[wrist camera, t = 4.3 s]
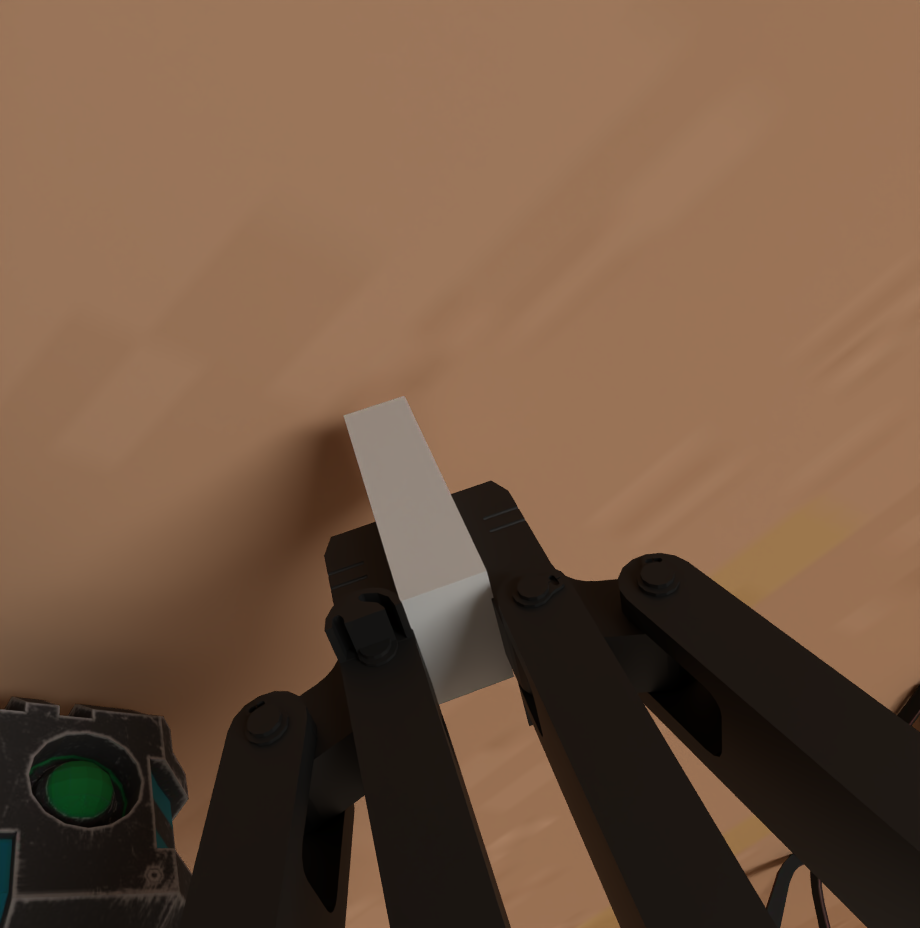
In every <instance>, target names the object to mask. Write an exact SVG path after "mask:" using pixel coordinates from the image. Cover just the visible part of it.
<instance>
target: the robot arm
mask: <svg viewBox="0 0 920 928" xmlns="http://www.w3.org/2000/svg"><path fill="white" fill-rule="evenodd" d="M344 419H345V422H346V425H347V429H348V432H349V435H350V439H351V442H352V445H353V448H354V452H355V455H356V458H357V462H358V465H359V468H360V471H361V475H362V478H363V481H364V485H365V488H366V491H367V494H368V498H369V501H370V504H371V508H372V511H373V514H374V517H375V521H376V522H374V523H371V524H368V525H365V526H362V527H359V528H356V529H353V530H350V531H347V532H344V533H342V534H339V535H336V536H333V537H331V538H330V541H329V544H328V547H327V550H326V552H325V555H324V557H325V562H326V567H327V572H328V576H329V583H330V588H331V593H332V598H333V603H334V606H333V607H332V609H331V610H330V612H329V614H328V616H327V618H326V621H325V632H326V634H327V637H328V639H329V641H330V643H331V645H332V648H333V650H334V652H335V654H336V656H337V659H338V661H337V662H336V664H335V666H334V668H333V669H332V670H331V671H330V673H329V674H328V675H327V676H326V677H325V678H324V679H323V680H322V681H320V682H319V683H318V684H317V685H315V686H314V687H312V688H311V689H309V690H308V691H307V692H305V693H304V694H302V695H301V696H297V695H295V694H293V693H291V692H288V691H274V692H271V693H268V694H265V695H262V696H259V697H257V698H256V699H254V700H253V701H251V702H250V703H248V704H247V705H245V706H244V707H243V708H242V709H241V711H240V712H239V713H238V714H237V715H236V716H235V717H234V719H233V721H232V723H231V726H230V728H229V730H228V733H227V737H226V741H225V745H224V749H223V753H222V757H221V761H220V765H219V769H218V773H217V777H216V781H215V785H214V789H213V793H212V797H211V801H210V805H209V809H208V813H207V817H206V821H205V825H204V829H203V833H202V837H201V841H200V845H199V849H198V853H197V857H196V861H195V865H194V869H193V873H192V877H191V882H190V886H189V890H188V894H187V898H186V902H185V906H184V910H183V914H182V918H181V922H180V926H179V928H345V920H346V908H347V895H348V883H349V871H350V858H351V846H352V834H353V821H354V809H355V808H354V803H355V802H356V801H358V800H359V799H360V798H361V797H363V796H364V795H365V798H366V804H367V809H368V814H369V819H370V825H371V830H372V835H373V840H374V846H375V851H376V856H377V861H378V866H379V872H380V877H381V882H382V887H383V893H384V898H385V903H386V908H387V914H388V919H389V924H390V928H511V927H510V924H509V920H508V917H507V914H506V911H505V908H504V905H503V902H502V899H501V895H500V892H499V889H498V886H497V883H496V880H495V877H494V874H493V870H492V867H491V864H490V861H489V858H488V855H487V852H486V848H485V845H484V842H483V839H482V836H481V833H480V830H479V827H478V823H477V820H476V817H475V814H474V811H473V808H472V805H471V802H470V798H469V795H468V792H467V789H466V786H465V783H464V780H463V777H462V773H461V770H460V767H459V764H458V761H457V758H456V755H455V752H454V748H453V745H452V742H451V739H450V736H449V733H448V730H447V727H446V724H445V721H444V718H443V716H442V713H441V710H440V707H439V704H442V703H444V702H447V701H450V700H453V699H455V698H458V697H461V696H463V695H466V694H469V693H471V692H474V691H477V690H479V689H482V688H485V687H487V686H490V685H493V684H495V683H498V682H501V681H503V680H506V679H509V678H511V677H514V675H513V672H514V674H515V676H516V678H517V681H518V684H519V688H520V692H521V696H522V700H523V704H524V708H525V711H526V715H527V719H528V723H529V726H531V725H533V726H534V728H535V730H536V732H537V735H538V737H539V739H540V742H541V744H542V746H543V749H544V751H545V753H546V756H547V758H548V760H549V763H550V765H551V767H552V770H553V772H554V774H555V777H556V779H557V781H558V784H559V786H560V788H561V791H562V793H563V795H564V797H565V800H566V802H567V804H568V807H569V809H570V811H571V814H572V816H573V818H574V821H575V823H576V825H577V828H578V830H579V832H580V835H581V837H582V839H583V842H584V844H585V846H586V849H587V851H588V853H589V856H590V858H591V860H592V862H593V865H594V867H595V869H596V872H597V874H598V876H599V879H600V881H601V883H602V886H603V888H604V890H605V893H606V895H607V897H608V900H609V902H610V904H611V907H612V909H613V911H614V914H615V916H616V918H617V921H618V923H619V925H620V927H621V928H777V926H776V924H775V923H774V921H773V919H772V918H771V916H770V914H769V913H768V911H767V909H766V908H765V906H764V904H763V903H762V901H761V899H760V898H759V896H758V894H757V893H756V891H755V889H754V888H753V886H752V884H751V883H750V881H749V879H748V878H747V876H746V874H745V873H744V871H743V869H742V868H741V866H740V864H739V863H738V861H737V859H736V858H735V856H734V854H733V853H732V851H731V849H730V848H729V846H728V844H727V843H726V841H725V839H724V837H723V836H722V834H721V832H720V831H719V829H718V827H717V826H716V824H715V822H714V821H713V819H712V817H711V816H710V814H709V812H708V811H707V809H706V807H705V806H704V804H703V802H702V801H701V799H700V797H699V796H698V794H697V792H696V791H695V789H694V787H693V786H692V784H691V782H690V781H689V779H688V777H687V776H686V774H685V772H684V771H683V769H682V767H681V766H680V764H679V762H678V761H677V759H676V757H675V756H674V754H673V752H672V751H671V749H670V747H669V745H668V744H667V742H666V740H665V739H664V737H663V735H662V734H661V732H660V730H659V729H658V727H657V725H656V724H655V722H654V720H653V719H652V717H651V715H650V714H649V712H648V710H647V709H646V707H645V705H646V706H647V707H648V708H649V709H650V710H651V711H652V712H653V713H654V714H655V715H656V716H657V717H658V718H659V719H660V720H661V721H662V722H663V723H664V724H665V725H666V726H667V727H668V728H669V729H670V730H671V731H672V732H673V733H674V734H675V735H676V736H677V737H678V738H679V739H680V740H681V741H682V742H683V743H684V744H685V745H686V746H687V747H688V748H689V749H690V750H691V751H692V753H693V754H694V755H695V756H696V757H697V758H698V759H699V760H700V761H701V762H702V763H703V764H704V765H705V766H706V767H707V768H708V769H709V770H710V771H711V772H712V773H713V774H714V775H715V776H716V777H717V778H718V779H719V780H720V781H721V782H722V783H723V784H724V785H725V786H726V787H727V788H728V789H729V790H730V791H731V792H732V793H733V794H734V795H735V796H736V797H737V798H738V799H739V800H740V801H741V802H742V803H743V804H744V805H745V806H746V807H747V808H748V809H749V810H750V811H751V812H752V813H753V814H754V815H755V816H756V817H757V818H758V819H759V820H760V821H761V822H762V823H763V824H764V825H765V826H766V827H767V828H768V829H769V830H770V831H771V832H772V833H773V834H774V835H775V836H776V837H777V838H778V839H779V840H780V841H781V842H782V843H783V844H784V845H785V846H786V847H787V848H788V849H789V850H790V851H791V852H792V853H793V854H794V855H795V856H796V857H797V858H798V859H799V860H800V861H801V862H802V863H803V864H804V865H805V866H806V867H807V868H808V869H809V870H810V871H811V872H812V873H813V874H814V875H815V876H816V877H817V878H818V879H819V880H820V881H821V882H822V883H823V884H824V885H825V886H826V887H827V888H828V889H829V890H830V891H831V892H832V893H833V894H834V895H835V896H836V897H837V898H838V899H839V900H840V901H841V902H842V903H843V904H844V905H845V906H846V907H847V908H848V909H849V910H850V911H851V912H852V913H853V914H854V915H855V916H856V917H857V918H858V919H859V920H860V921H861V922H862V923H863V924H864V925H865V926H866V927H867V928H920V732H919V731H917V730H916V729H915V728H913V727H912V726H911V725H909V724H908V723H906V722H905V721H904V720H902V719H901V718H900V717H898V716H897V715H896V714H894V713H893V712H892V711H890V710H889V709H887V708H886V707H885V706H883V705H882V704H881V703H879V702H878V701H877V700H875V699H874V698H872V697H871V696H870V695H868V694H867V693H866V692H864V691H863V690H862V689H860V688H859V687H858V686H856V685H855V684H853V683H852V682H851V681H849V680H848V679H847V678H845V677H844V676H843V675H841V674H840V673H838V672H837V671H836V670H834V669H833V668H832V667H830V666H829V665H828V664H826V663H825V662H823V661H822V660H821V659H819V658H818V657H817V656H815V655H814V654H813V653H811V652H810V651H809V650H807V649H806V648H804V647H803V646H802V645H800V644H799V643H798V642H796V641H795V640H794V639H792V638H791V637H789V636H788V635H787V634H785V633H784V632H783V631H781V630H780V629H779V628H777V627H776V626H774V625H773V624H772V623H770V622H769V621H768V620H766V619H765V618H764V617H762V616H761V615H760V614H758V613H757V612H755V611H754V610H753V609H751V608H750V607H749V606H747V605H746V604H745V603H743V602H742V601H740V600H739V599H738V598H736V597H735V596H734V595H732V594H731V593H730V592H728V591H727V590H725V589H724V588H723V587H721V586H720V585H719V584H717V583H716V582H715V581H713V580H712V579H711V578H709V577H708V576H706V575H705V574H704V573H702V572H701V571H700V570H698V569H697V568H696V567H694V566H693V565H691V564H690V563H689V562H687V561H685V560H683V559H681V558H679V557H677V556H675V555H669V554H663V553H656V554H645V555H643V556H640V557H638V558H635V559H633V560H631V561H630V562H629V563H628V564H627V565H626V566H624V567H623V568H622V571H621V573H620V575H619V577H618V579H615V580H604V581H581V580H575V579H572V578H570V577H567V576H565V575H564V574H563V573H562V572H561V571H559V570H556V569H555V568H554V566H553V565H552V564H551V563H550V561H549V559H548V557H547V556H546V554H545V552H544V551H543V549H542V547H541V546H540V544H539V542H538V540H537V539H536V537H535V535H534V534H533V532H532V530H531V529H530V527H529V525H528V523H527V522H526V521H525V519H524V517H523V515H522V513H521V512H520V510H519V509H518V507H517V505H516V503H515V501H514V500H513V498H512V496H511V495H510V493H509V491H508V490H506V489H505V488H503V487H501V486H499V485H498V484H496V483H494V482H493V481H488V482H486V483H483V484H480V485H477V486H474V487H471V488H468V489H465V490H462V491H459V492H456V493H453V494H450V492H449V490H448V488H447V485H446V483H445V481H444V479H443V477H442V475H441V473H440V470H439V468H438V466H437V464H436V462H435V460H434V458H433V456H432V453H431V451H430V449H429V447H428V445H427V443H426V441H425V439H424V436H423V434H422V432H421V430H420V428H419V426H418V424H417V421H416V419H415V417H414V415H413V413H412V411H411V409H410V407H409V404H408V402H407V400H406V398H405V396H402V397H399V398H396V399H393V400H390V401H387V402H384V403H381V404H377V405H374V406H371V407H368V408H365V409H362V410H359V411H356V412H353V413H350V414H347V415H344ZM512 669H513V671H512ZM643 703H644V704H645V705H644V704H643Z"/></svg>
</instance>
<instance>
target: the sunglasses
mask: <svg viewBox="0 0 920 928" xmlns="http://www.w3.org/2000/svg"><path fill="white" fill-rule="evenodd" d="M919 715H920V686H919V687H918V688H917V690H916V691H915V692H914V694H913V695H912V696H911V698H910V699H909V701H908V702H907V703H906V705H905V706H904V707H903V709H902V710H901V711H900V713H899V714H898V715H897V716H898V717H900V718H901V719H902V720H904V721H905V722H906V723H908V724H909V725H911V726H912V725H913V723H914V722H915V720H916V719H917V718H918V716H919ZM802 865H804V864H803V863H802V862H801V861H800V860H799V859H798V858H797V857H796V856H795V855H794V854H792V855H791V856H790V857H789V858H788V859H787V860H786V861H785V862H784V863H783V864H782V866H781V868H780V869H779V871H778V872H777V875H776V878H775V881H774V885H773V888H772V891H771V894H770V897H769V900H768V903H767V906H766V909H767V911H768V913H769V914H770V916H771V918H772V919H773V921H774V923H775V924H776V926H777V928H780V926H781V921H782V916H783V912H784V907H785V902H786V897H787V892H788V888H789V883H790V880H791V878H792V876H793V873H794V872H795V870H796V869H797V868H798V867H800V866H802ZM810 878H811V888H812V895H813V900H814V905H815V910H816V915H817V919H818V924H819V928H830V924H829V920H828V916H827V912H826V907H825V903H824V897H823V891H822V882H821V881H820V880H819V879H818V878H817V877H816V876H815V875H814V874H813V873H812V872H811V871H810Z"/></svg>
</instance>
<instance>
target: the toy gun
mask: <svg viewBox="0 0 920 928" xmlns="http://www.w3.org/2000/svg"><path fill="white" fill-rule="evenodd" d="M188 799H189V798H188V790H187V782H186V775H185V772H184V771H183V769H182V767H181V765H180V764H179V762H178V760H177V758H176V757H175V755H174V753H173V749H172V740H171V731H170V728H169V726H168V724H167V722H166V721H165V719H164V717H163V716H156V715H148V714H143V713H140V712H136V711H133V710H126V709H117V708H109V707H100V706H91V705H82V704H75V705H74V707H73V708H72V710H71V712H70V713H69V715H68V716H62V715H60V706H59V705H56V704H53V703H50V702H47V701H45V700H37V699H28V698H19V697H11V699H10V701H9V702H8V704H7V706H6V708H5V709H4V710H3V709H0V928H179V926H180V922H181V918H182V914H183V910H184V906H185V902H186V898H187V894H188V890H189V886H190V882H191V877H192V873H191V872H190V870H189V869H188V868H187V866H186V865H185V863H184V862H183V860H182V859H181V857H180V856H179V854H178V853H177V851H176V850H175V843H174V833H173V824H172V821H173V820H174V818H175V817H176V815H177V814H178V813H179V811H180V810H181V809H182V807H183V806H184V804H185V803H186V802H187V800H188Z"/></svg>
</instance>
